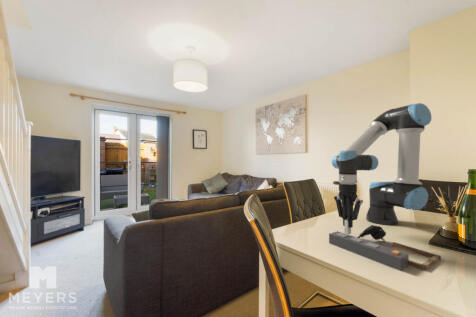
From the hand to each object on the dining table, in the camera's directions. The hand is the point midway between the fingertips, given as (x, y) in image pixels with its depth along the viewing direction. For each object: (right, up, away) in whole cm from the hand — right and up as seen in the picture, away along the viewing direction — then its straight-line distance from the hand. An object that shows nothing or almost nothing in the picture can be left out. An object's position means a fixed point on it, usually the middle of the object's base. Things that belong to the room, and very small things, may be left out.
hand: (347, 233), depth 96 cm
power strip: (-3, -1, -17) cm, 17 cm away
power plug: (+3, -4, -4) cm, 6 cm away
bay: (+11, -1, -20) cm, 23 cm away
